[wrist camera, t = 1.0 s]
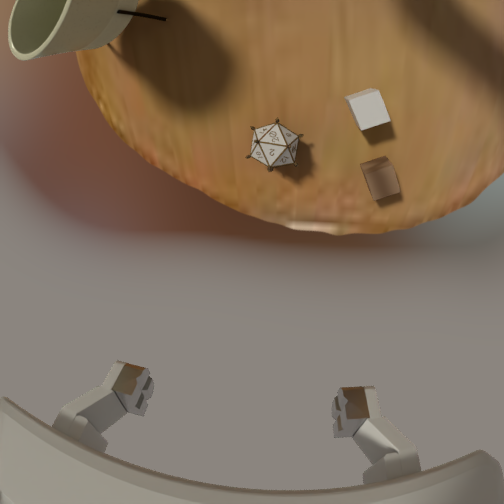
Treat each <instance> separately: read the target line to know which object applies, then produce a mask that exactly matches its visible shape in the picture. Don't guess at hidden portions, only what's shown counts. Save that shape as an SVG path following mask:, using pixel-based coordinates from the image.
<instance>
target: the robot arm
mask: <svg viewBox="0 0 504 504" xmlns="http://www.w3.org/2000/svg"><path fill="white" fill-rule="evenodd" d="M149 374H150V372H149V370H148V368H144V367H140V366H136V365H132V364H129V363H125V362H121V361H116V362H115V363H114V365H113V366H112V368H111V370H110V372H109V374H108V375H107V377H106V379H105V381H104V383H103V384H102V386H98V387H96V388H94V389H92V390H91V391H89V392H87V393H86V394H84V395H82V396H81V397H79V398H77V399H75V400H74V401H72V402H70V403H68V404H66V405H65V406H63V407H62V409H61V411H60V412H59V414H58V416H57V418H56V420H55V422H54V424H53V425H52V427H51V426H49V425H47V424H46V423H44V422H42V421H41V420H39V419H38V418H36V417H34V416H33V415H31V414H30V413H28V412H27V411H25V410H24V409H22V408H21V407H19V406H18V405H17V404H15V403H14V402H13V401H11V400H10V399H9V398H7V397H0V504H504V479H503V473H502V469H501V466H500V463H499V462H498V461H497V460H496V459H495V458H494V457H492V456H491V455H489V454H488V453H487V452H485V451H483V450H477V451H475V452H472V453H470V454H468V455H465V456H463V457H461V458H458V459H456V460H453V461H450V462H448V463H445V464H442V465H440V466H437V467H434V468H431V469H428V470H425V471H421V467H420V462H419V457H418V453H417V448H416V446H415V445H414V444H413V443H412V442H410V440H408V439H407V438H406V437H405V436H404V435H403V434H402V433H401V432H400V431H399V430H398V429H397V428H396V427H395V426H394V425H393V424H392V423H391V422H390V421H389V420H388V419H387V418H386V417H382V415H381V411H380V407H379V402H378V398H377V394H376V390H375V387H374V386H366V387H365V386H364V387H362V386H360V387H342V388H340V389H339V390H338V392H337V393H338V396H336V397H335V398H334V400H333V404H332V417H333V418H334V419H335V420H336V421H335V423H334V424H333V431H334V438H339V437H352V438H353V440H354V441H355V442H356V443H357V445H358V446H359V447H360V449H361V450H362V451H363V453H364V454H365V455H366V457H367V458H368V459H369V460H370V462H371V463H372V464H373V466H371V467H370V468H368V469H367V470H366V471H365V472H364V473H363V483H364V485H358V486H351V487H342V488H332V489H320V490H261V489H248V488H247V489H246V488H237V487H229V486H222V485H215V484H209V483H203V482H198V481H193V480H188V479H184V478H179V477H175V476H171V475H167V474H164V473H160V472H156V471H153V470H150V469H146V468H143V467H140V466H137V465H134V464H131V463H128V462H126V461H123V460H120V459H118V458H115V457H113V456H110V455H108V454H105V453H104V452H105V450H106V447H107V445H108V442H107V440H106V439H105V438H104V437H102V435H101V433H102V432H104V431H105V430H106V429H108V427H110V426H111V425H113V424H114V423H115V422H116V421H118V420H119V419H120V418H121V417H123V416H124V415H125V414H126V413H127V412H129V413H133V414H136V415H140V416H144V414H145V411H146V409H147V406H148V404H147V401H146V400H148V399H149V398H151V396H152V394H153V389H154V383H153V380H152V378H150V376H149Z"/></svg>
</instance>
